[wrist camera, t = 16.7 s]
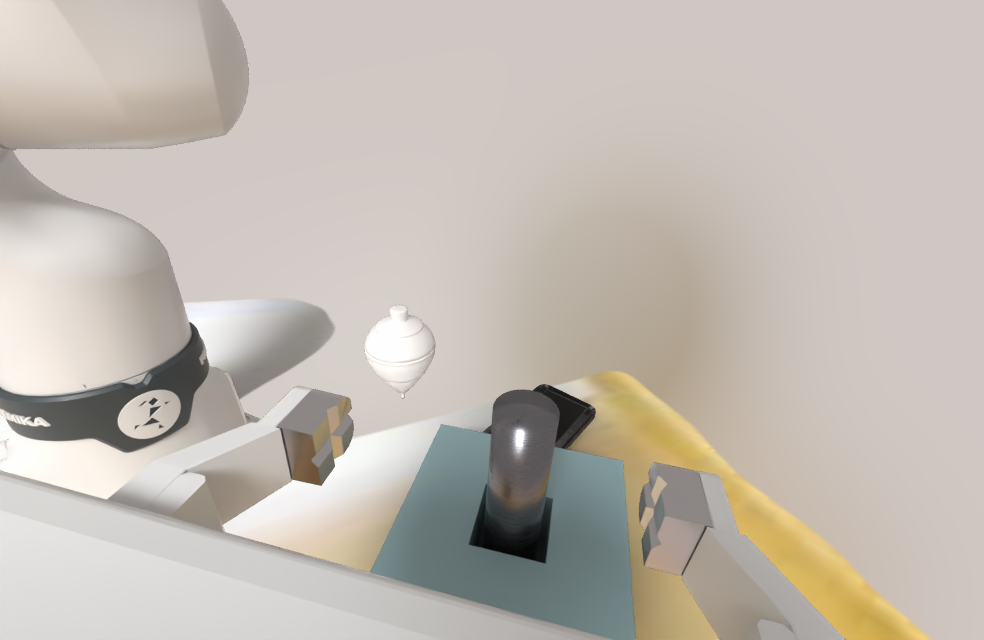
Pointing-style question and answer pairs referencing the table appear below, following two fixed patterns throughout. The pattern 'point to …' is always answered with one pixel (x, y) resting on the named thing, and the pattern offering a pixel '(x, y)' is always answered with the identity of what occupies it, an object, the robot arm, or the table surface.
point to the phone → (566, 415)
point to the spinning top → (400, 349)
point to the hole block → (510, 579)
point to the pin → (519, 471)
